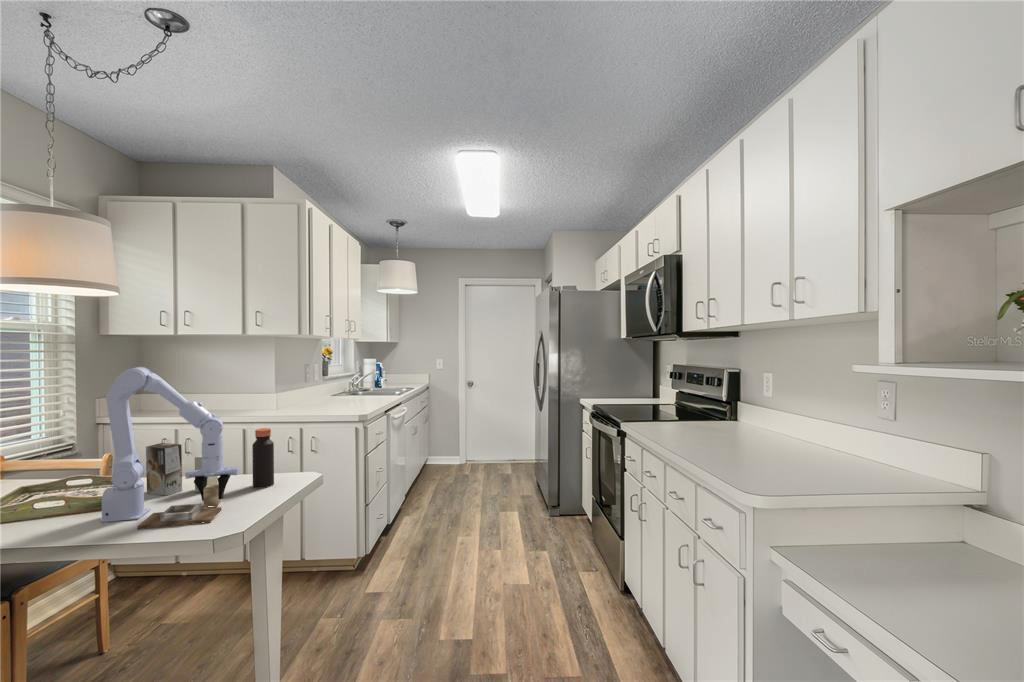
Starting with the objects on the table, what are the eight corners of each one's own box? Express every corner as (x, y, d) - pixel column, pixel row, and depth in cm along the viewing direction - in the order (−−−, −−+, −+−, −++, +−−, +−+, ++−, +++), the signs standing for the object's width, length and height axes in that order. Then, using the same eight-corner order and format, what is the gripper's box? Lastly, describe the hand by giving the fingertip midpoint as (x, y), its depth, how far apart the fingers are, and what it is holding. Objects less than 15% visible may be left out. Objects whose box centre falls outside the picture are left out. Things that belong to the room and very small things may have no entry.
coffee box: (183, 490, 171) (183, 444, 171) (165, 496, 165) (165, 448, 165) (163, 488, 174) (163, 442, 174) (145, 493, 168) (144, 446, 168)
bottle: (253, 484, 178) (252, 428, 178) (274, 481, 181) (273, 427, 181) (252, 489, 172) (251, 432, 172) (273, 486, 175) (273, 430, 175)
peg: (203, 508, 154) (203, 488, 154) (207, 503, 158) (207, 484, 158) (218, 506, 155) (217, 487, 155) (221, 502, 159) (221, 483, 159)
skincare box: (207, 492, 169) (206, 457, 169) (194, 492, 169) (193, 457, 169) (218, 486, 175) (218, 452, 175) (206, 486, 175) (205, 452, 175)
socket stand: (137, 529, 137) (137, 518, 137) (153, 516, 147) (153, 506, 147) (211, 522, 142) (210, 512, 142) (221, 510, 152) (221, 500, 152)
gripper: (181, 460, 151) (181, 505, 151) (234, 457, 154) (234, 501, 155) (189, 455, 157) (190, 498, 158) (240, 452, 161) (240, 494, 161)
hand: (212, 499), depth 157 cm, fingers closed on peg, 4 cm apart
